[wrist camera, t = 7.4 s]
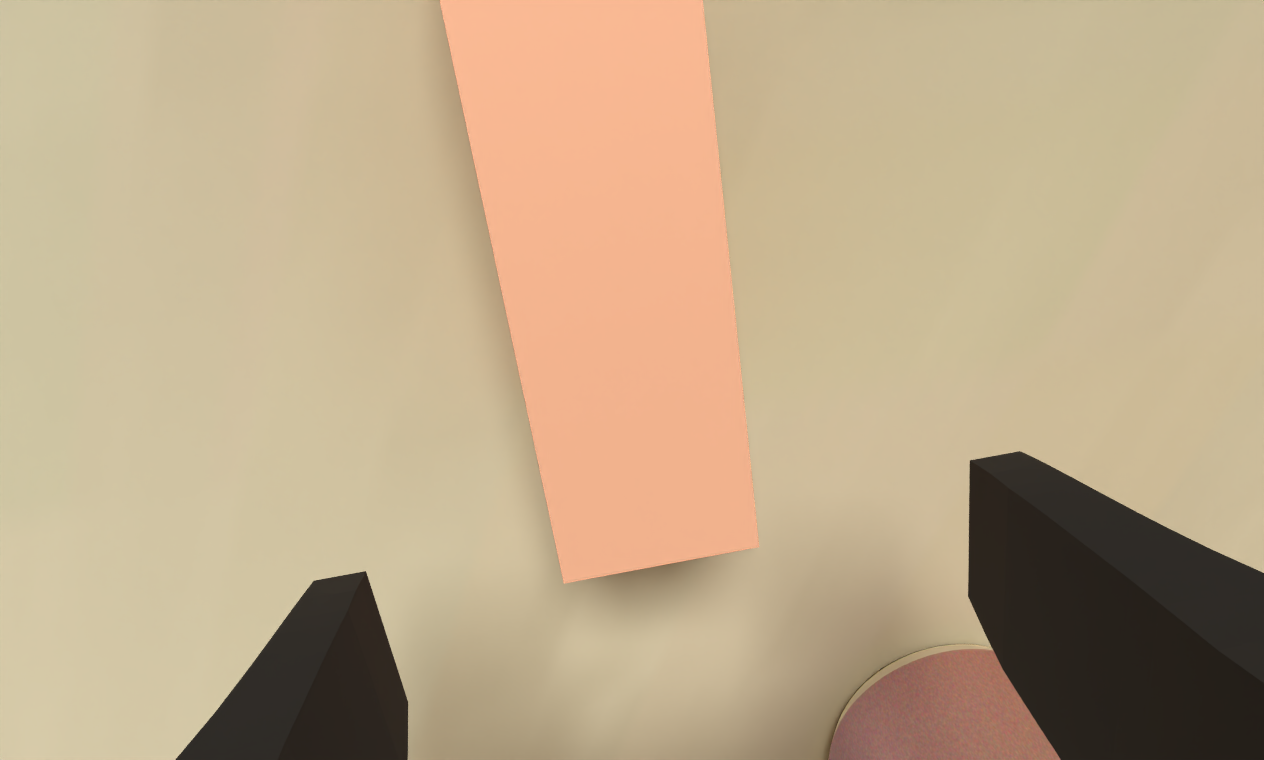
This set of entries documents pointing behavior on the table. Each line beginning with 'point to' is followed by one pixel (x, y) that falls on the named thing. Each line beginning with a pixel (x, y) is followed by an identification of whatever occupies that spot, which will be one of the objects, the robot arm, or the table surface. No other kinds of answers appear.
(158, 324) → the table surface
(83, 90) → the table surface
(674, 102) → the salmon long block
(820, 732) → the table surface
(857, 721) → the beverage can
